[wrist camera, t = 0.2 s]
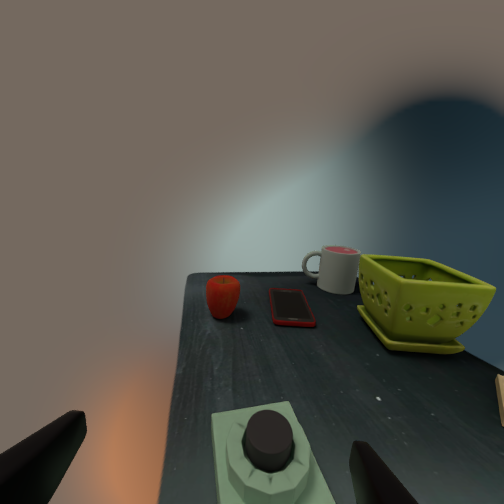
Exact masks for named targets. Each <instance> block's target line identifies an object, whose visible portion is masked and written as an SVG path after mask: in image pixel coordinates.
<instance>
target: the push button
mask: <svg viewBox="0 0 504 504" xmlns="http://www.w3.org/2000/svg"><path fill="white" fill-rule="evenodd" d="M292 438H293V432H292V428H291V425H290V423H289V422H288V420H287V419H286V418H285V417H284V416H283V415H282V414H280V413H279V412H277V411H274V410H260V411H258V412H256V413H254V414H253V415H252V416H251V417H250V419H249V421H248V423H247V428H246V442H245V448H246V453H247V455H248V457H249V459H250V461H251V462H252V463H253V464H254V465H255V466H256V467H258V468H259V469H261V470H264V471H276V470H279V469H281V468H282V467H284V466H285V465H286V463H287V462H288V460H289V457H290V453H291V446H292Z"/></svg>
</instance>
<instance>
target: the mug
mask: <svg viewBox="0 0 504 504" xmlns="http://www.w3.org/2000/svg"><path fill="white" fill-rule="evenodd" d="M360 254H361V252H360V251H359V250H357V249H353V248H350V247H345V246H336V245H326V246H323V247H322V251H312V252H310V253H308V254H307V255H306V256H305V257H304V259H303V262H302V269H303V272H304V273H305V274H306V275H307V276H308V277H310V278H313V279H317V278H318V281H317V286H318V287H319V288H321V289H322V290H325V291H327V292H331V293H335V294H350V293H353V292H354V287H355V282H356V276H357V270H358V265H359V259H360ZM315 255H318V256H321V258H320V266H319V273H318V274H312V273H310V272H309V271H308V270H307V267H306V263H307V261H308V259H309V258H310V257H312V256H315Z"/></svg>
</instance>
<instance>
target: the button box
mask: <svg viewBox="0 0 504 504" xmlns="http://www.w3.org/2000/svg"><path fill="white" fill-rule="evenodd" d="M260 410H274V411H277V412H279V413H280V414H282V415H283V416H284V417H285V418H286V419H287V420H288V422H289V423H290V425H291V428H292V432H293V438H292V446H291V453H290V457H289V460H288V462H287V463H286V465H285V466H284V467H282V468H281V469H279V470H276V471H264V470H261V469H259V468H258V467H256V466H255V465H254V464H253V463H252V462H251V461H250V459H249V457H248V455H247V453H246V448H245V442H246V428H247V423H248V421H249V419H250V417H251V416H252V415H253V414H254V413H256V412H258V411H260ZM211 435H212V446H213V458H214V469H215V481H216V492H217V504H335V501H334V499H333V497H332V495H331V493H330V490H329V488H328V486H327V484H326V482H325V479H324V477H323V475H322V473H321V471H320V469H319V466H318V464H317V462H316V460H315V458H314V455H313V453H312V451H311V449H310V444H309V442H308V440H307V438H306V435H305V433H304V431H303V429H302V427H301V425H300V424H299V423H298V420H297V418H296V416H295V414H294V412H293V409H292V407H291V405H290V403H289V401H285V402H279V403H273V404H268V405H262V406H256V407H250V408H244V409H238V410H232V411H226V412H220V413H215V414H212V419H211Z"/></svg>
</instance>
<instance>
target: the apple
mask: <svg viewBox="0 0 504 504" xmlns="http://www.w3.org/2000/svg"><path fill="white" fill-rule="evenodd" d="M239 294H240V284H239V281H237V280H236V279H235V278H234V277H232V276H227V275H221V276H216V277H214V278H212V279H210V280H208V283H207V285H206V297H207V304H208V307H209V310H210V312H211V314H212V316H213V317H215V318H218V319H223V318H226V317H228V316H230V315H231V313H232V312H233V311H234V309H235V307H236V304H237V301H238V298H239Z"/></svg>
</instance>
